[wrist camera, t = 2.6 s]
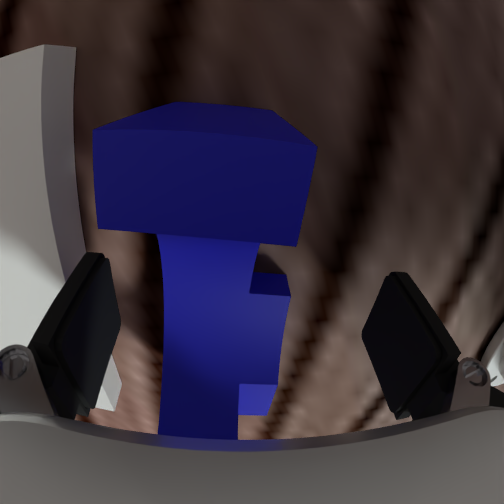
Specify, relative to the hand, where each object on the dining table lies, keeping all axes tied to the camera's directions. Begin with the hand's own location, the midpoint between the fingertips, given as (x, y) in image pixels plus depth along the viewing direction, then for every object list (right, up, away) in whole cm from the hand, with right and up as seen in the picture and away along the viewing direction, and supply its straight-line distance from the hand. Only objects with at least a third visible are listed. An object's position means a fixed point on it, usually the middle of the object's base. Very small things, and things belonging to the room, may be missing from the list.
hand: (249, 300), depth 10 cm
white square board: (-15, +2, +1) cm, 15 cm away
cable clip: (-1, +1, +2) cm, 3 cm away
